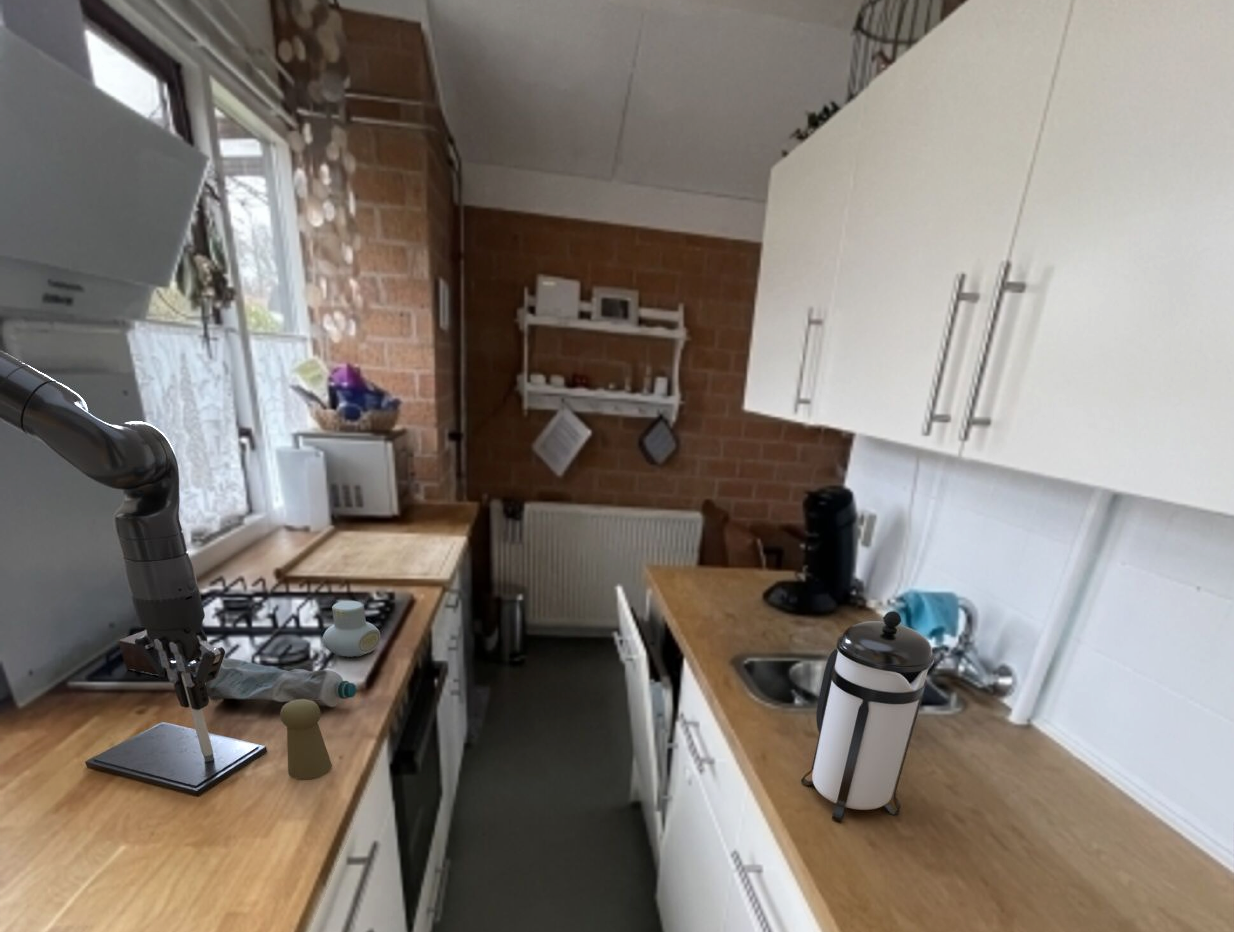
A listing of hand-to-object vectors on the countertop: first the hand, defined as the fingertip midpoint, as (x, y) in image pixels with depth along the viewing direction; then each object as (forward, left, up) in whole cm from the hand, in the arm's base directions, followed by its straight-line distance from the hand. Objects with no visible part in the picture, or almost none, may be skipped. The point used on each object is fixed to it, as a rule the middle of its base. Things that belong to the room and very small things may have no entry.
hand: (195, 705), depth 99 cm
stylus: (0, 0, -9) cm, 9 cm away
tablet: (-6, 0, -10) cm, 12 cm away
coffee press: (+90, +29, -10) cm, 96 cm away
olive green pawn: (+13, +5, -10) cm, 18 cm away
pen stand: (-35, +24, -10) cm, 43 cm away
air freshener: (-8, +44, -10) cm, 46 cm away
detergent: (-4, +21, -10) cm, 24 cm away
